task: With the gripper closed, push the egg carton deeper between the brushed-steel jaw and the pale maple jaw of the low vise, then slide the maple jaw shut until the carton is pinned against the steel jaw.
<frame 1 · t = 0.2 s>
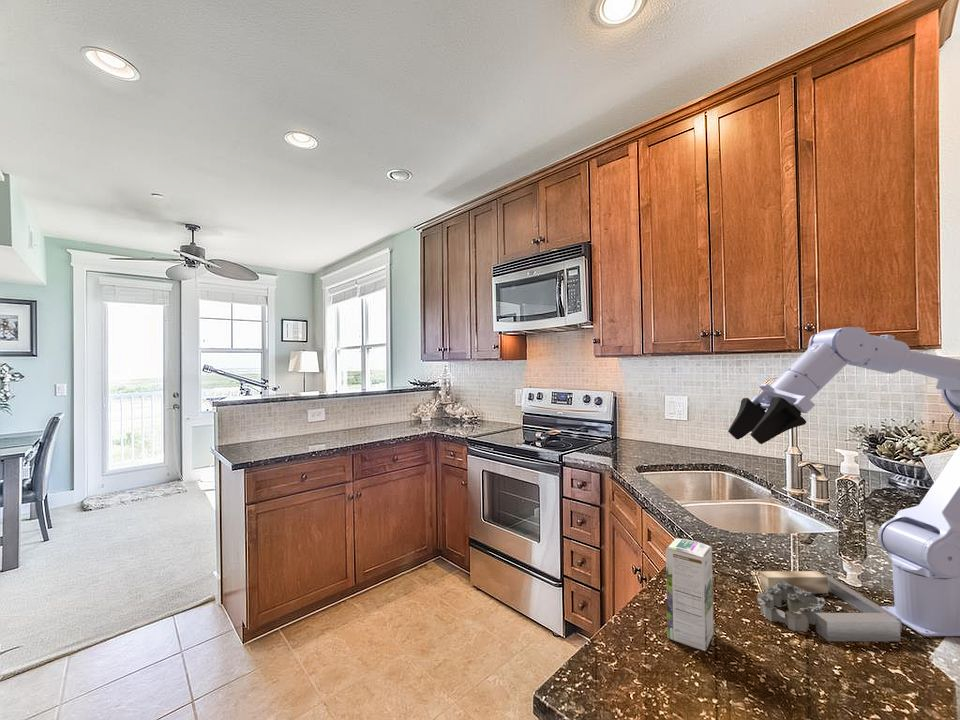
hand: (743, 437, 73), 31 cm above the countertop, tool tilted 45°, fingers open, 7 cm apart
syrup box: (691, 638, 69), on the countertop
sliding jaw: (793, 582, 82), point 2 cm above the countertop, slide at 0.0 cm
egg carton: (791, 617, 74), on the countertop
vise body: (816, 606, 77), on the countertop
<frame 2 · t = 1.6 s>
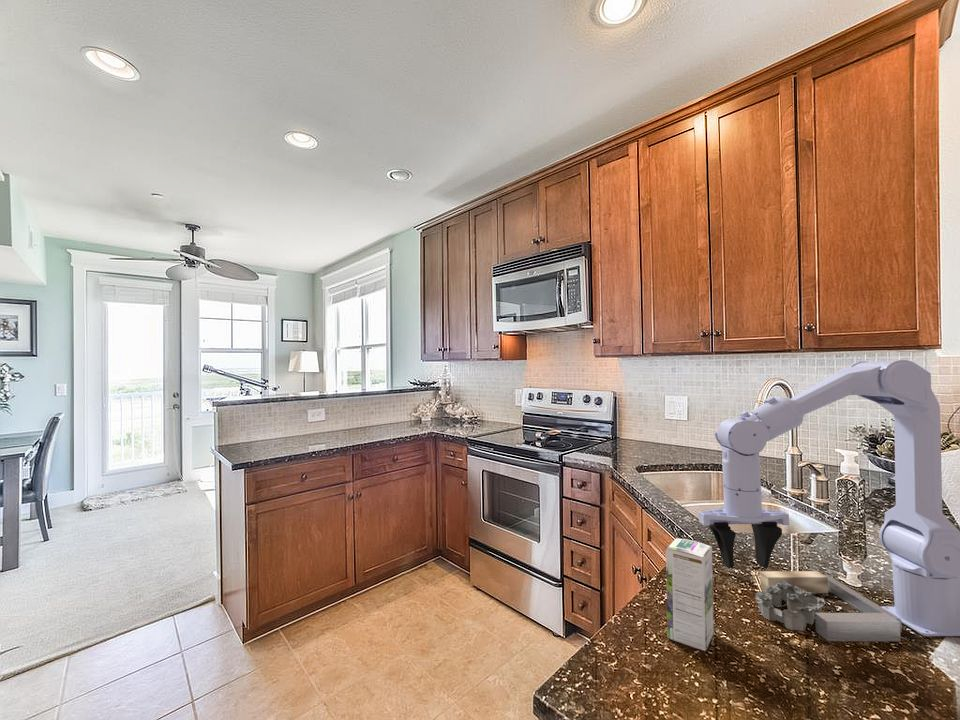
hand: (745, 565, 75), 8 cm above the countertop, tool pointing down, fingers open, 5 cm apart
nothing on the countertop moved.
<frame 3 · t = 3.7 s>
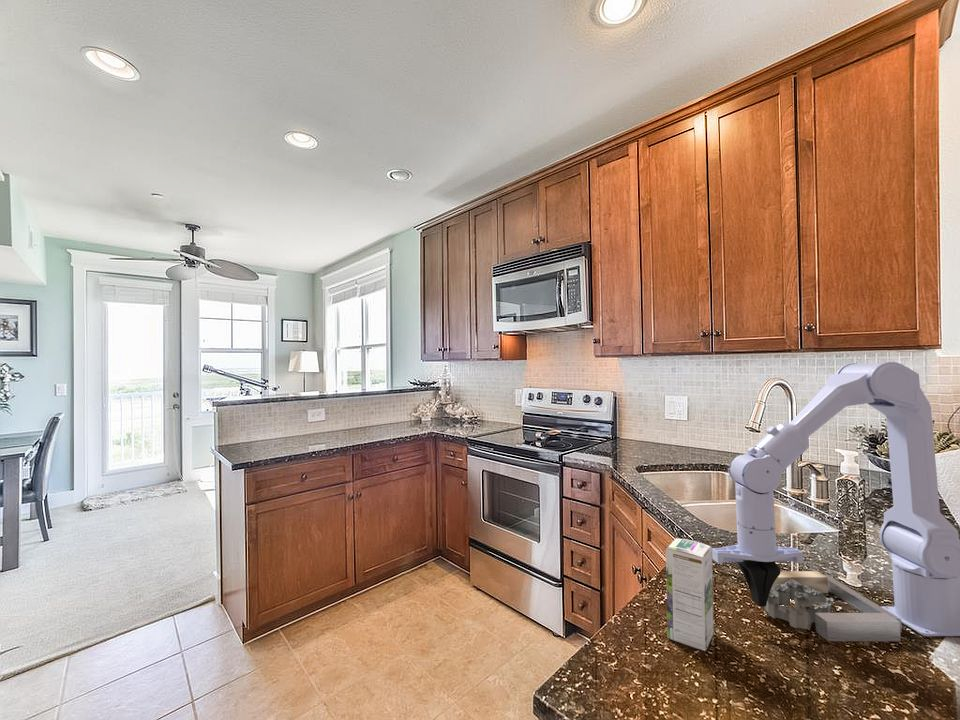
hand: (759, 603, 75), 2 cm above the countertop, tool pointing down, fingers closed
egg carton: (796, 614, 75), on the countertop
everything else where it was.
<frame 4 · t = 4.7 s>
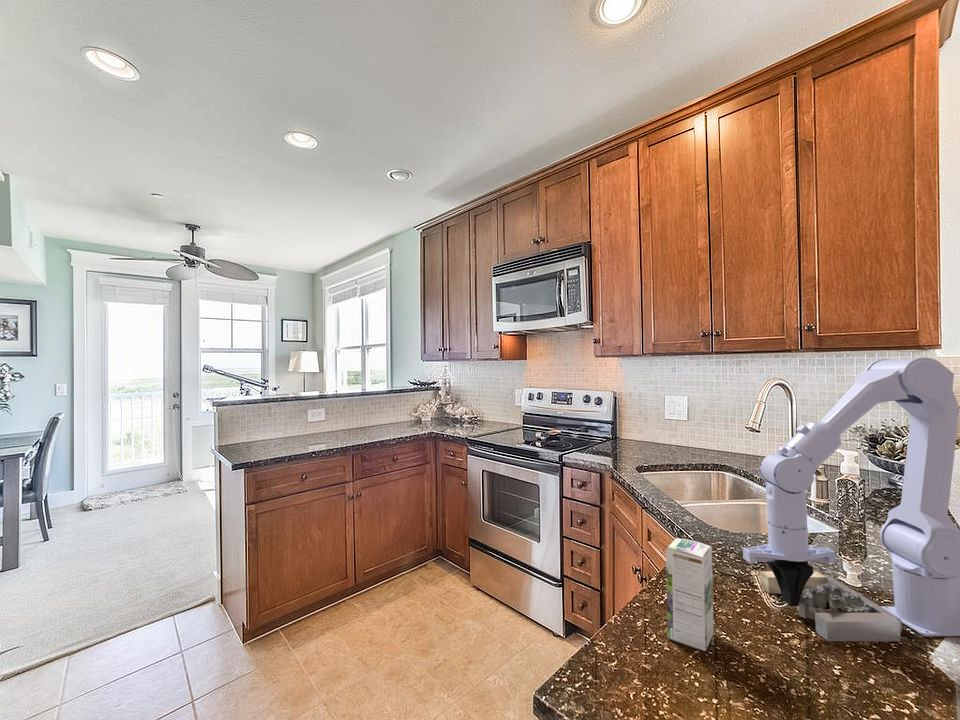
hand: (790, 603, 74), 2 cm above the countertop, tool pointing down, fingers closed
egg carton: (831, 617, 74), on the countertop, touching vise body
everything else where it was.
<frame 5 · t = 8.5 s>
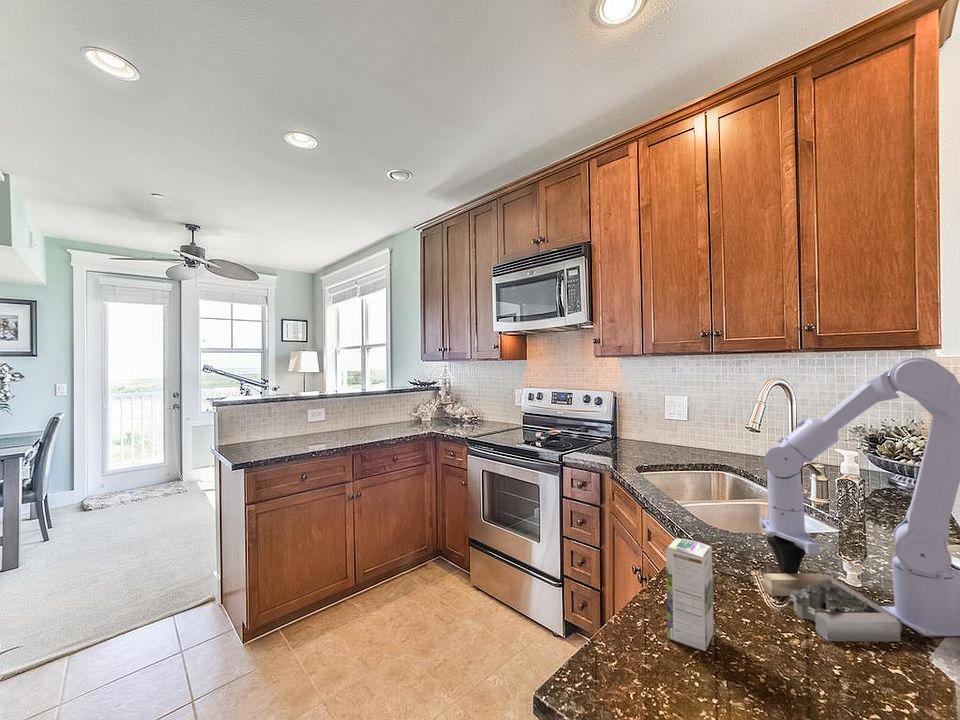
hand: (789, 577, 84), 2 cm above the countertop, tool pointing down, fingers closed
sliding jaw: (796, 584, 81), point 2 cm above the countertop, slide at 0.9 cm, touching gripper
everything else where it was.
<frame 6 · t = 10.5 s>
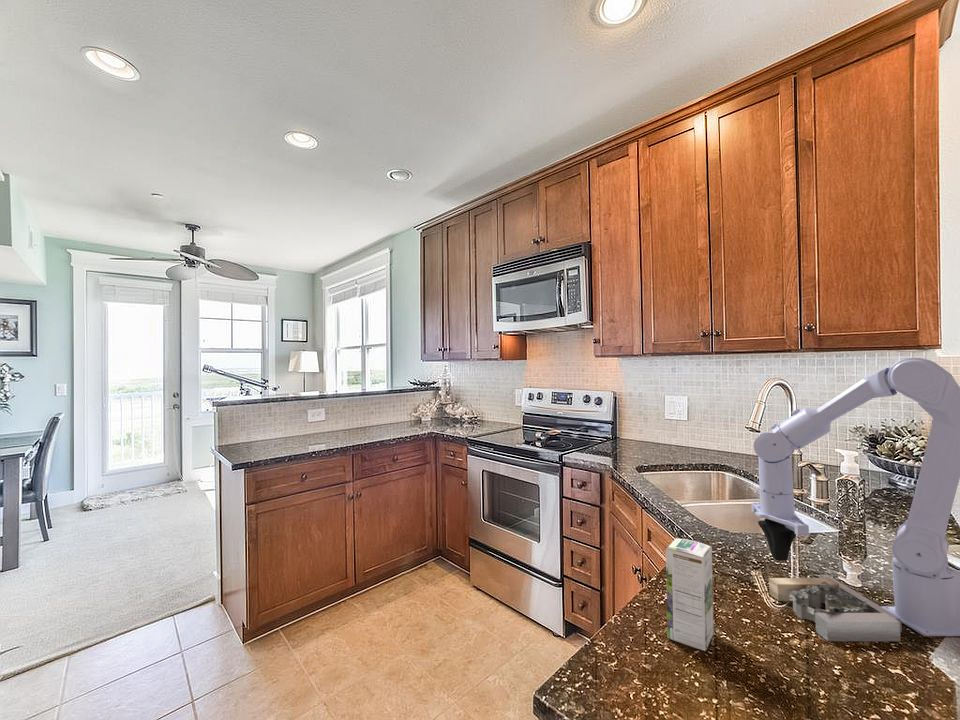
hand: (779, 559, 86), 4 cm above the countertop, tool pointing down, fingers closed
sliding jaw: (803, 589, 80), point 2 cm above the countertop, slide at 2.7 cm
everything else where it was.
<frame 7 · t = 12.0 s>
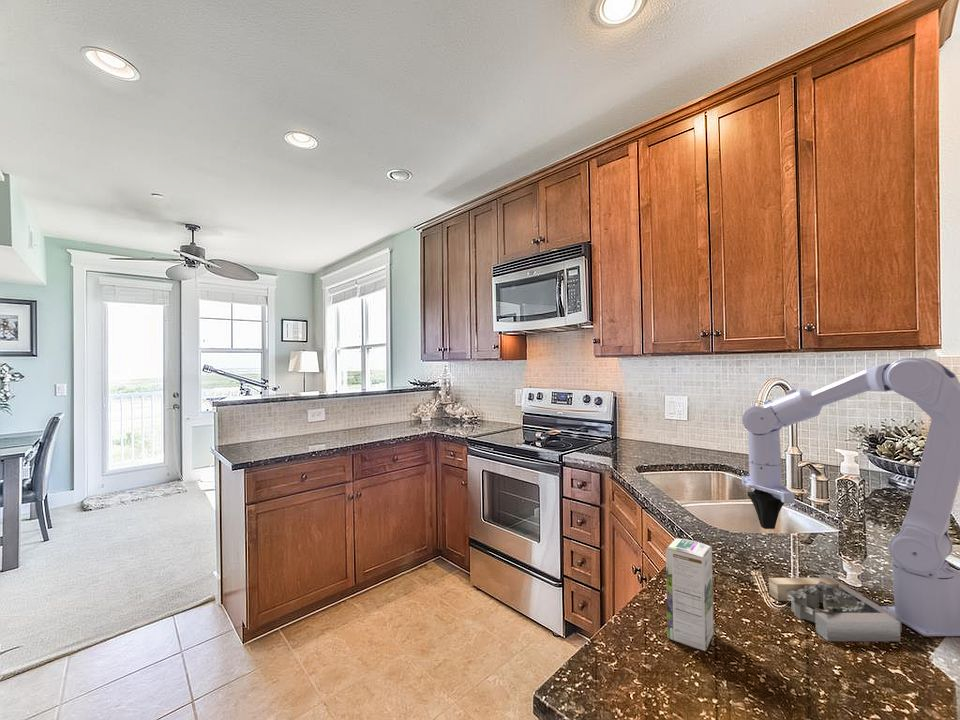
hand: (767, 527, 90), 9 cm above the countertop, tool pointing down, fingers closed
at the end: egg carton 0.6 cm from the target spot, on the countertop; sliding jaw slide at 2.7 cm; egg carton tilted 0° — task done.
